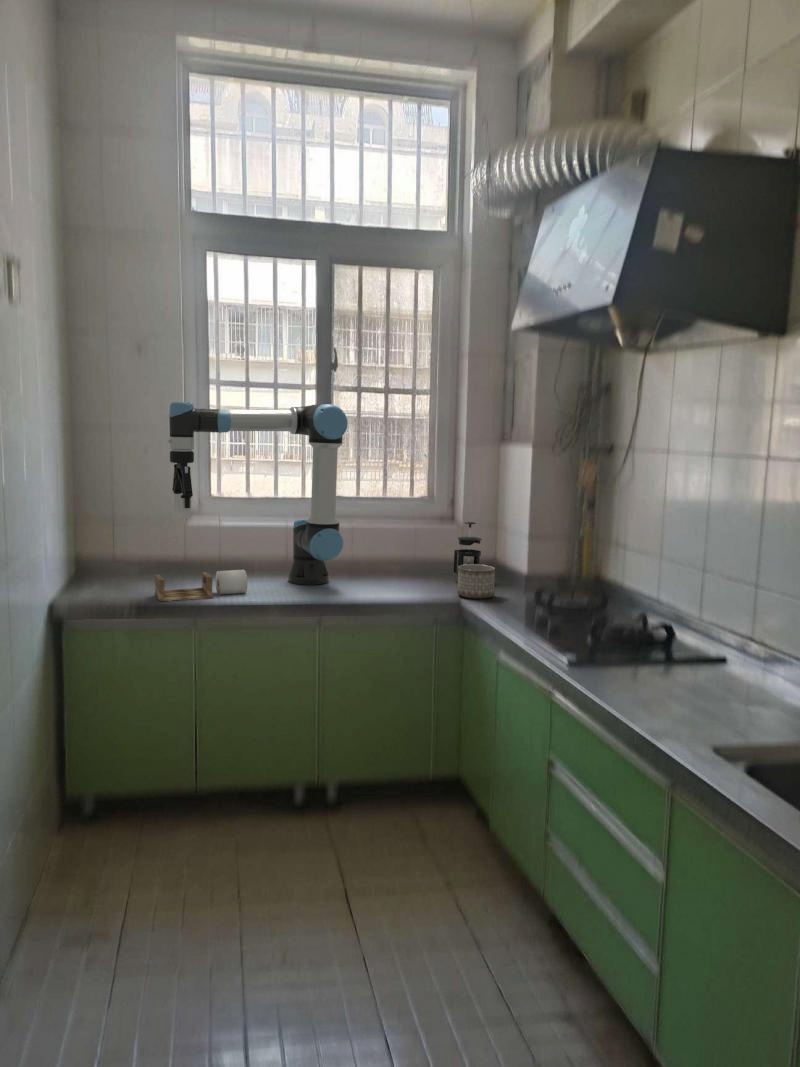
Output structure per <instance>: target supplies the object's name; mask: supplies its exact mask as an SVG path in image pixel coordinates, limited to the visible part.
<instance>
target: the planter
mask: <svg viewBox="0 0 800 1067" xmlns="http://www.w3.org/2000/svg"><path fill="white" fill-rule="evenodd" d="M465 564H466V565H460V566H457V571H458V583H457V593H456V594H457V595H459V596H461V597H465V598H467V597H470V598H469V599H471V598H483V599H486V598H487V599H488V598H492V597H493V596H494V594H495V575H496V568H495V567H494V566H491V565H487V564H480V563H479V564H474V563H473V564H472V563H470V564H467V563H465Z"/></svg>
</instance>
